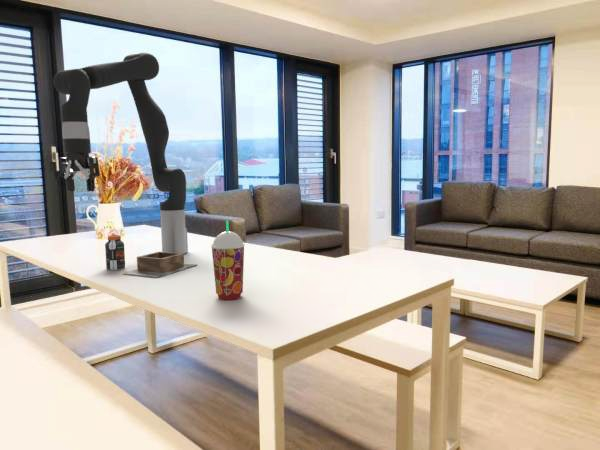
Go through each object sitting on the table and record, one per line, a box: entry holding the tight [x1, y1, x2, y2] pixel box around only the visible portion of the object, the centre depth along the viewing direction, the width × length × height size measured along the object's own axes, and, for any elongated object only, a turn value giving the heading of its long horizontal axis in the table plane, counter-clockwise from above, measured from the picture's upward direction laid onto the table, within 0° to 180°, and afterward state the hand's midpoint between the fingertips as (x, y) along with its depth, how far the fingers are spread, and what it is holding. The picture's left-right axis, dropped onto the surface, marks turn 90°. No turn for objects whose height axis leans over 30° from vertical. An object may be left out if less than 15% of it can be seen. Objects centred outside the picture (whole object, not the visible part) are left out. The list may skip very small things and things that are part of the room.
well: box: [122, 251, 198, 279], centre depth 160 cm, size 20×14×5 cm
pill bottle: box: [104, 234, 126, 271], centre depth 163 cm, size 6×6×11 cm
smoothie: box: [210, 220, 245, 301], centre depth 124 cm, size 8×8×20 cm
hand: (80, 191), depth 149 cm, fingers open, 8 cm apart
